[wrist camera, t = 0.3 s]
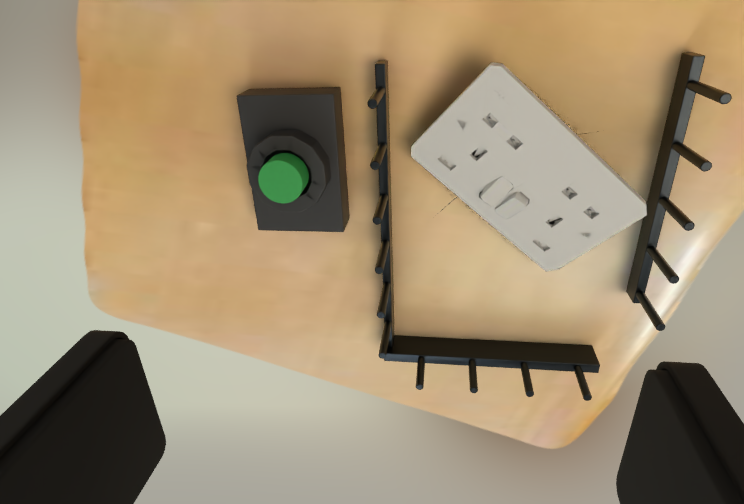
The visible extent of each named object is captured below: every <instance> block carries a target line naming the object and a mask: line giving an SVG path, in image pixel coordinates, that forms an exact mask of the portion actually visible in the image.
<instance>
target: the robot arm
mask: <svg viewBox="0 0 744 504" xmlns="http://www.w3.org/2000/svg"><path fill="white" fill-rule="evenodd" d="M165 445H166V439H165V434H164V431H163V429H162V425H161V422H160V419H159V416H158V413H157V410H156V407H155V404H154V400H153V397H152V394H151V391H150V388H149V385H148V382H147V379H146V376H145V373H144V370H143V366H142V363H141V360H140V357H139V354H138V351H137V348H136V345H135V343H134V342H133V341H132V340H129V338H128V336H127V335H126V334H125V333H123V332H117V331H116V332H115V331H98V330H94V331H90V332H88V333H87V334H86V335H85V336H83V337H82V338H81V339H80V340H79V341H78V342H77V343H76V344H75V345H74V346H73V347H72V348H71V349H70V350H69V351H68V352H67V353H66V354H65V355H64V356H62V357H61V358H60V359H59V360H58V361H57V362H56V363H55V364H54V365H53V366H52V367H51V368H50V369H49V370H48V371H47V372H46V373H45V374H44V375H43V376H42V377H40V378H39V379H38V380H37V381H36V383H34V384H33V385H32V386H31V387H30V388H29V389H28V390H27V391H26V392H25V393H24V394H23V395H22V396H21V397H19V398H18V399H17V400H16V401H15V402H14V403H13V404H12V405H11V406H10V407H9V408H8V409H7V410H6V411H5V412H4V413H3V414H2V415H1V416H0V504H133V503H134V502H135V500H136V499H137V497H138V495H139V494H140V492H141V490H142V489H143V487H144V485H145V484H146V482H147V481H148V479H149V477H150V476H151V474H152V472H153V471H154V469H155V468H156V466H157V464H158V463H159V461H160V459H161V458H162V456H163V453H164V450H165ZM616 485H617V494H618V498H619V501H620V504H744V424H743V422H742V421H741V419H740V418H739V416H738V415H737V414H736V412H735V410H734V409H733V408H732V406H731V405H730V403H729V402H728V400H727V399H726V397H725V396H724V394H723V393H722V391H721V390H720V388H719V387H718V386H717V384H716V383H715V381H714V380H713V378H712V377H711V375H710V374H709V373H708V371H707V369H706V368H704V366H703V365H701V364H699V363H681V362H661V363H660V364H659V365H658V366H657V369H656V370H648V371H647V373H646V375H645V378H644V382H643V385H642V389H641V392H640V396H639V399H638V403H637V407H636V410H635V414H634V417H633V421H632V424H631V428H630V431H629V435H628V439H627V442H626V446H625V449H624V453H623V456H622V460H621V463H620V467H619V471H618V474H617V482H616Z"/></svg>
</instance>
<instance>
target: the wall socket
mask: <svg viewBox="0 0 744 504" xmlns="http://www.w3.org/2000/svg"><path fill="white" fill-rule="evenodd" d="M603 131H604V130H603ZM597 132H598V131H597ZM584 134H585V133H584ZM578 135H579V134H578ZM578 135H577V134H575V133H574V132H573V131H572V130H571V129H570V128H569V127H568V126H567V125H566V124H565V123H564V122H563V121H562V120H561V119H560V118H559V117H558V116H557V115H556V114H555V113H554V112H553V111H552V110H550V109H549V108H548V107H547V106H546V105H545V104H544V103H543V102H542V101H541V100H540V99H539V98H538V97H537V96H536V95H535V94H534V93H533V92H532V91H531V90H530V89H529V88H528V87H527V86H525V85H524V84H523V83H522V82H521V81H520V80H519V79H518V78H517V77H516V76H515V75H514V74H513V73H512V72H511V71H510V70H509V69H508V68H507V67H506V66H505V65H504V64H502V63H492V62H491V63H490V64H489V65H488V66H487V67H486V68H485V69H484V70H483V71H482V72H481V74H480V75H479V76H478V77H477V78H476V79H475V80H474V81H473V82H472V83H471V84H470V85H469V86H468V87H467V88H466V89H465V90H464V91H463V92H462V93H461V94H460V95H459V96H458V97H457V98H456V100H455V101H454V102H453V103H452V104H451V105H450V106H449V107H448V108H447V109H446V110H445V111H444V112H443V113H442V114H441V115H440V116H439V117H438V118H437V119H436V120H435V121H434V122H433V123H432V124H431V126H430V127H429V128H428V129H427V130H426V131H425V132H424V133H423V134H422V135H421V136H420V137H419V138H418V139H417V140H416V141H415V142H414V143H413V144H412V147H411V157H412V158H414V159H415V160H416V161H417V162H418V163H419V164H421V165H422V166H423V167H424V168H425V169H426V170H428V171H429V172H430V173H431V174H432V175H433V176H435V177H436V178H437V179H438V180H439V181H440V182H442V183H443V184H444V185H445V186H446V187H447V188H449V189H450V190H451V191H452V192H453V193H454V194H456V195H457V197H459V198H460V199H461V200H462V201H464V202H465V203H466V204H467V205H468V206H469V207H471V208H472V209H473V210H474V211H475V212H476V213H478V214H479V215H480V216H481V217H482V218H483V219H485V220H486V221H487V222H488V223H489V224H490V225H492V226H493V227H494V228H495V229H496V230H498V231H499V232H500V233H501V234H502V235H503V236H505V237H506V238H507V239H508V240H509V241H511V242H512V243H513V244H514V245H515V246H516V247H518V248H519V249H520V250H521V251H522V252H523V253H525V254H526V255H527V256H528V257H529V258H531V259H532V260H533V261H534V262H535V263H536V264H538V265H539V266H540V267H541V268H542V269H544V270H545V271H552V270H557V269H560V268H562V267H563V266H565V265H566V264H568V263H570V262H571V261H573V260H575V259H576V258H578V257H579V256H581V255H583V254H584V253H586V252H588V251H589V250H591V249H593V248H594V247H596V246H597V245H599V244H601V243H602V242H604V241H606V240H607V239H609V238H611V237H612V236H614V235H615V234H617V233H619V232H620V231H622V230H624V229H625V228H627V227H628V226H630V225H632V224H633V223H635V222H637V221H638V220H640V219H642V218H643V217H645V216H646V215H647V209H646V207H647V205H646V202H645V200H644V199H643V198H642V197H641V196H640V195H639V194H638V193H637V192H636V191H635V190H634V189H633V188H632V187H631V186H630V185H629V184H628V183H627V182H625V181H624V180H623V179H622V178H621V177H620V176H619V175H618V174H617V173H616V172H615V171H614V170H613V169H612V168H611V167H610V166H609V165H608V164H607V163H606V162H605V161H604V160H603V159H602V158H600V157H599V156H598V155H597V154H596V153H595V152H594V151H593V150H592V149H591V148H590V147H589V146H588V145H587V144H586V143H585V142H584V141H583V140H582V139H581V138H580V137H579V136H578ZM457 197H456V198H457ZM451 202H452V201H451ZM451 202H450V203H451ZM450 203H449V204H450ZM443 209H444V208H443ZM443 209H442V210H443ZM435 216H436V215H435Z"/></svg>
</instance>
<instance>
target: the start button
mask: <svg viewBox="0 0 744 504" xmlns="http://www.w3.org/2000/svg"><path fill="white" fill-rule="evenodd" d="M308 180H309V173H308V169H307V167H306V165H305V163H304V162H303V161H302V160H301V159H300V158H299V157H297V156H296V155H293V154H291V153H279V154H276V155H274V156H273V157H272V158H271V159H270V160H269V161H268V162H267V163H266V164H265V165H264V166H263V167H262V168H261V170H260V172H259V176H258V182H259V186H260V188H261V190H262V192H263V193H264V195H265V196H266V197H268V198H269V199H270V200H272V201H274V202H277V203H290V202H292V201H294V200H296V199H297V198H298V197H299V196H300V194H301V193H302V191H303V190H304V188H305V187H306V185H307V183H308Z"/></svg>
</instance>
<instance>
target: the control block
mask: <svg viewBox="0 0 744 504" xmlns="http://www.w3.org/2000/svg"><path fill="white" fill-rule="evenodd" d="M237 102H238V108H239V114H240V120H241V126H242V133H243V139H244V145H245V151H246V157H247V170H248V176H249V183H250V186H251V188H252V194H253V200H254V206H255V212H256V218H257V224H258V230H276V231H322V232H344V230H345V228H346V225H347V223H348V220H349V204H348V189H347V175H346V160H345V145H344V130H343V116H342V101H341V88H340V87H328V88H276V89H249V90H247V91H245V92H243V93H241V94H239V95H237ZM279 153H291V154H293V155H296V156H297V157H299V158H300V159H301V160H302V161H303V162H304V163H305V165H306V167H307V169H308V173H309V180H308V183H307V185H306V187H305V188H304V190H303V191H302V193H301V194H300V196H299V197H298V198H297V199H296V200H294V201H292V202H290V203H277V202H274V201H272V200H270V199H269V198H268V197H266V196H265V195H264V193H263V192H262V190H261V188H260V186H259V182H258V176H259V172H260V170H261V168H262V167H263V166H264V165H265V164H266V163H267V162H268V161H269V160H270V159H271V158H272V157H273V156H274V155H276V154H279Z"/></svg>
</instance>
